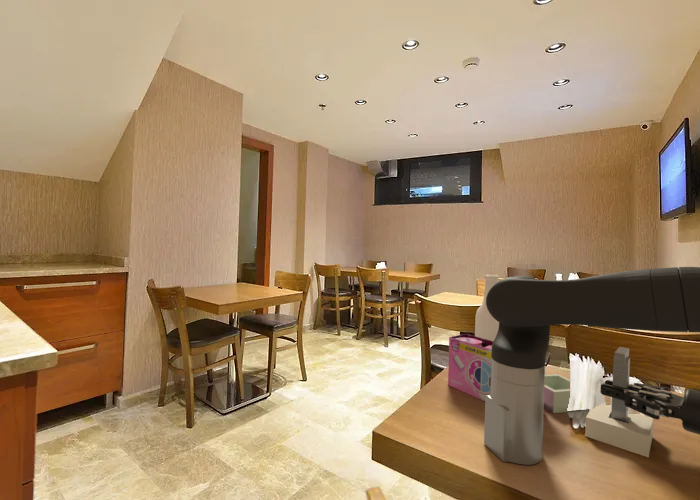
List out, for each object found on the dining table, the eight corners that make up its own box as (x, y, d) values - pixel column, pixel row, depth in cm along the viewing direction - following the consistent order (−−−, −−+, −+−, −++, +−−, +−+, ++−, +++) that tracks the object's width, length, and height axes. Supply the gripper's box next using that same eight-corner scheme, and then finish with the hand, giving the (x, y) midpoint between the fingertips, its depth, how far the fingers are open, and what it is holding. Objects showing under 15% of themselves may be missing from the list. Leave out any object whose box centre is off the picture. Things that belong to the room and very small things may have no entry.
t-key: (623, 444, 70) (627, 354, 69) (608, 439, 71) (612, 351, 71) (628, 433, 74) (631, 348, 73) (614, 429, 75) (617, 346, 75)
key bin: (553, 413, 82) (554, 392, 82) (524, 394, 92) (525, 375, 92) (589, 410, 84) (590, 389, 84) (557, 392, 94) (558, 374, 94)
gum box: (549, 414, 82) (551, 356, 82) (531, 423, 77) (533, 362, 77) (464, 379, 102) (466, 333, 101) (446, 385, 97) (447, 336, 97)
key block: (648, 457, 65) (649, 436, 65) (585, 436, 72) (585, 417, 72) (652, 437, 73) (653, 418, 73) (594, 419, 80) (595, 402, 80)
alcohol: (483, 365, 114) (486, 273, 113) (510, 373, 107) (513, 275, 106) (468, 371, 108) (471, 274, 108) (495, 380, 102) (498, 277, 101)
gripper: (724, 387, 66) (612, 362, 79) (720, 409, 57) (594, 376, 70) (722, 426, 66) (610, 395, 79) (717, 454, 57) (592, 413, 70)
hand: (603, 386), depth 74 cm, fingers closed on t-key, 2 cm apart
